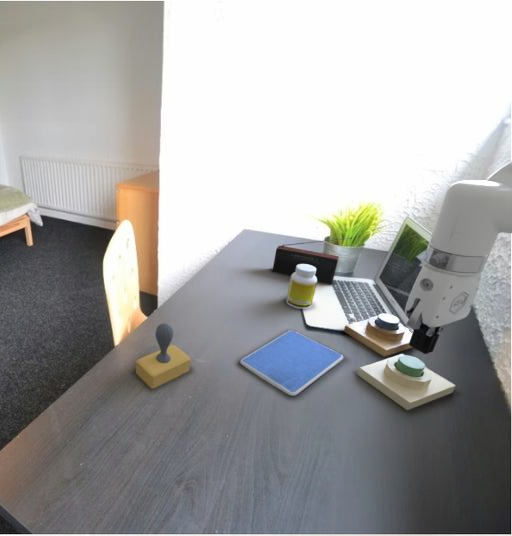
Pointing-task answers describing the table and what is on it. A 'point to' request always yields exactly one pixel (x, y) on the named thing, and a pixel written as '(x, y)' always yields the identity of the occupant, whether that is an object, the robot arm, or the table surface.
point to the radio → (305, 262)
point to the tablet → (291, 362)
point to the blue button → (387, 321)
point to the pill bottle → (302, 287)
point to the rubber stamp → (163, 360)
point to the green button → (410, 366)
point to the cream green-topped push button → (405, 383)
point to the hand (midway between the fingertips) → (420, 348)
